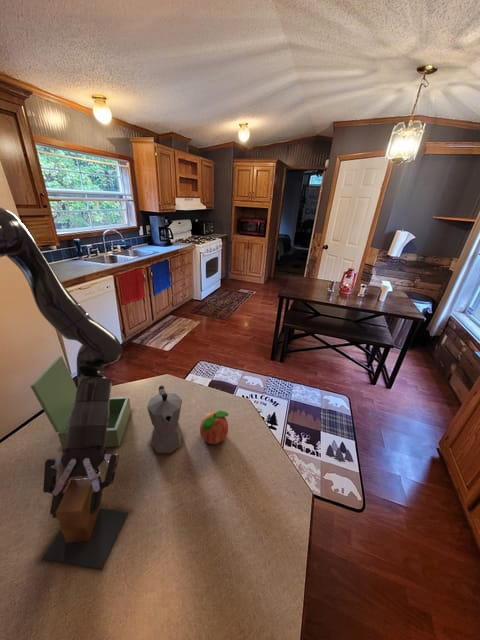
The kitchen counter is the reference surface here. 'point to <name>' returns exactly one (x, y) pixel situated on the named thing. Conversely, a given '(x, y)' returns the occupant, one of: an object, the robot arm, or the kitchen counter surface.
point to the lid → (56, 393)
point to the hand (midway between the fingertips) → (75, 514)
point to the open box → (116, 424)
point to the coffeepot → (165, 421)
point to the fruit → (214, 427)
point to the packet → (77, 511)
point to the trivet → (89, 542)
